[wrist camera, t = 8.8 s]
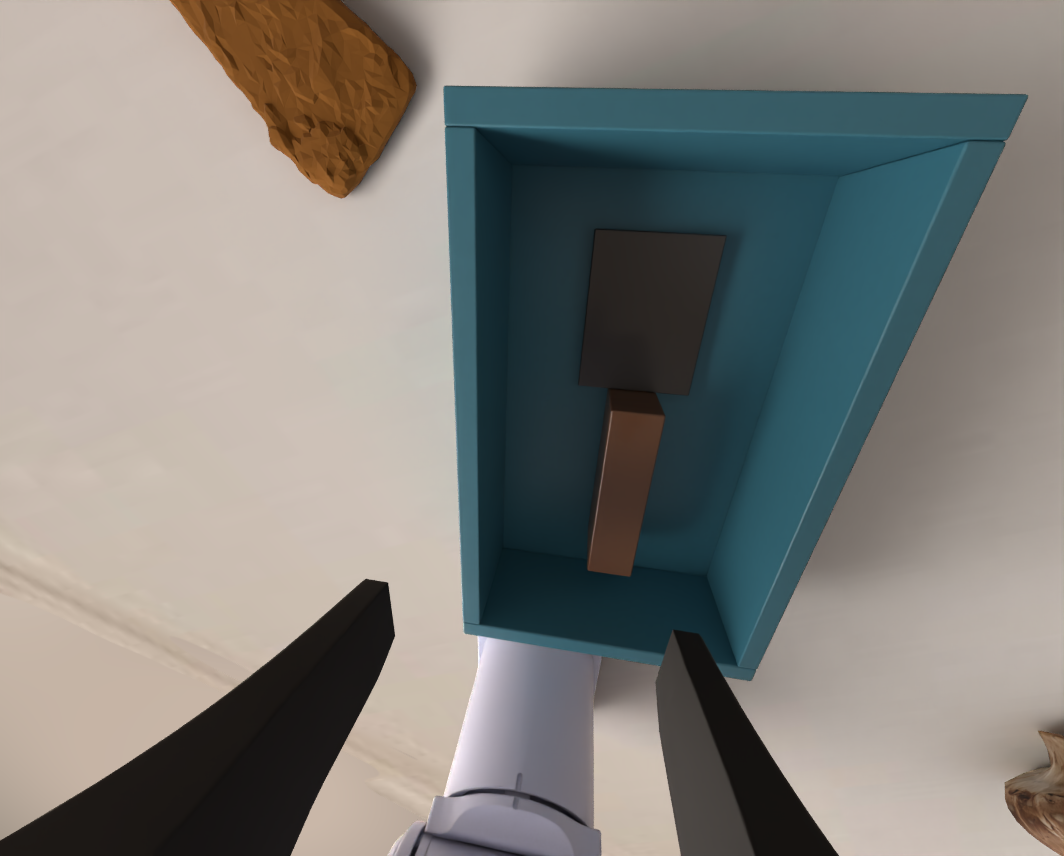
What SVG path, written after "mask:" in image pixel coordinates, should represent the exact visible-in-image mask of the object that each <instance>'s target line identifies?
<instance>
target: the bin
mask: <svg viewBox="0 0 1064 856" xmlns="http://www.w3.org/2000/svg"><path fill="white" fill-rule="evenodd" d="M443 90H444V117H445V125H446V126H447V127H445V146H446V174H447V201H448V228H449V256H450V283H451V310H452V338H453V365H454V392H455V420H456V447H457V475H458V502H459V529H460V557H461V584H462V611H463V632H464V633H465V634H470V635H476V636H482V637H488V638H494V639H500V640H506V641H512V642H518V643H524V644H530V645H536V646H542V647H548V648H554V649H560V650H566V651H572V652H578V653H584V654H590V655H596V656H602V657H608V658H614V659H620V660H626V661H632V662H638V663H644V664H650V665H656V666H661V664H662V661H663V658H664V655H665V652H666V648H667V645H668V642H669V639H670V636H671V633H672V630H673V629H674V630H680V631H686V632H692V633H698V634H700V636H701V637H702V638H703V640H704V642H705V644H706V646H707V647H708V649H709V651H710V653H711V655H712V657H713V658H714V660H715V662H716V664H717V666H718V667H719V669H720V671H721V673H722V675H723V676H724V677H729V678H735V679H741V680H747V681H751V680H752V679H753V676H754V674H755V672H756V669H757V668H758V666H759V664H760V662H761V660H762V658H763V656H764V654H765V652H766V649H767V647H768V645H769V643H770V641H771V639H772V637H773V635H774V633H775V630H776V628H777V626H778V624H779V622H780V620H781V618H782V616H783V614H784V611H785V609H786V607H787V605H788V603H789V601H790V599H791V597H792V595H793V592H794V590H795V588H796V586H797V584H798V582H799V580H800V578H801V576H802V573H803V571H804V569H805V567H806V565H807V563H808V561H809V559H810V557H811V554H812V552H813V550H814V548H815V546H816V544H817V542H818V540H819V538H820V535H821V533H822V531H823V529H824V527H825V525H826V523H827V521H828V518H829V516H830V514H831V512H832V510H833V508H834V506H835V504H836V502H837V499H838V497H839V495H840V493H841V491H842V489H843V487H844V485H845V483H846V480H847V478H848V476H849V474H850V472H851V470H852V468H853V466H854V464H855V461H856V459H857V457H858V455H859V453H860V451H861V449H862V447H863V445H864V442H865V440H866V438H867V436H868V434H869V432H870V430H871V428H872V426H873V423H874V421H875V419H876V417H877V415H878V413H879V411H880V409H881V407H882V404H883V402H884V400H885V398H886V396H887V394H888V392H889V390H890V388H891V385H892V383H893V381H894V379H895V377H896V375H897V373H898V371H899V368H900V366H901V364H902V362H903V360H904V358H905V356H906V354H907V352H908V349H909V347H910V345H911V343H912V341H913V339H914V337H915V335H916V333H917V330H918V328H919V326H920V324H921V322H922V320H923V318H924V316H925V314H926V311H927V309H928V307H929V305H930V303H931V301H932V299H933V297H934V295H935V292H936V290H937V288H938V286H939V284H940V282H941V280H942V278H943V276H944V273H945V271H946V269H947V267H948V265H949V263H950V261H951V259H952V257H953V254H954V252H955V250H956V248H957V246H958V244H959V242H960V240H961V238H962V235H963V233H964V231H965V229H966V227H967V225H968V223H969V221H970V218H971V216H972V214H973V212H974V210H975V208H976V206H977V204H978V202H979V199H980V197H981V195H982V193H983V191H984V189H985V187H986V185H987V183H988V180H989V178H990V176H991V174H992V172H993V170H994V168H995V166H996V164H997V161H998V159H999V157H1000V155H1001V153H1002V151H1003V149H1004V147H1005V144H1006V142H1003V141H1005V140H1007V139H1008V138H1009V137H1010V134H1011V132H1012V130H1013V128H1014V126H1015V124H1016V122H1017V120H1018V118H1019V115H1020V113H1021V111H1022V109H1023V107H1024V105H1025V103H1026V101H1027V99H1028V95H1026V94H977V93H909V92H841V91H773V90H705V89H637V88H569V87H501V86H444V89H443ZM596 228H598V229H617V230H636V231H655V232H675V233H694V234H713V235H726V236H727V238H726V242H725V246H724V250H723V254H722V258H721V263H720V267H719V271H718V275H717V279H716V283H715V288H714V292H713V296H712V300H711V304H710V309H709V313H708V317H707V321H706V325H705V329H704V334H703V338H702V342H701V346H700V350H699V354H698V359H697V363H696V367H695V371H694V375H693V380H692V384H691V388H690V392H689V395H688V396H685V395H674V394H663V393H656V395H657V397H658V399H659V402H660V404H661V406H662V409H663V411H664V413H665V416H666V418H665V423H664V427H663V432H662V437H661V441H660V446H659V450H658V455H657V459H656V464H655V469H654V473H653V478H652V482H651V487H650V492H649V496H648V501H647V505H646V510H645V514H644V519H643V524H642V528H641V533H640V537H639V542H638V547H637V551H636V556H635V560H634V565H633V570H632V574H631V576H630V577H628V576H621V575H614V574H607V573H600V572H593V571H588V570H587V539H588V523H589V516H590V509H591V502H592V495H593V488H594V481H595V474H596V467H597V460H598V453H599V446H600V439H601V432H602V425H603V418H604V411H605V404H606V397H607V390H608V388H600V387H589V386H579V385H578V380H579V371H580V362H581V352H582V343H583V334H584V324H585V315H586V306H587V297H588V287H589V278H590V269H591V259H592V250H593V241H594V231H595V229H596Z"/></svg>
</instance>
